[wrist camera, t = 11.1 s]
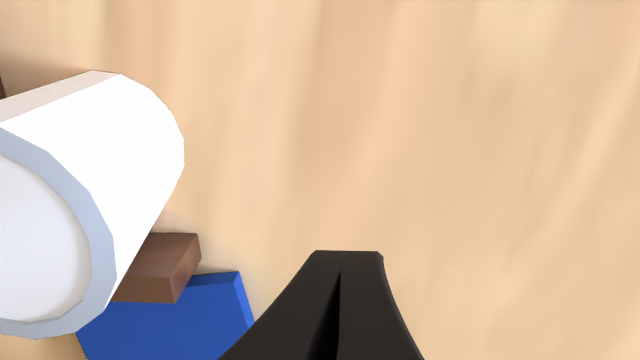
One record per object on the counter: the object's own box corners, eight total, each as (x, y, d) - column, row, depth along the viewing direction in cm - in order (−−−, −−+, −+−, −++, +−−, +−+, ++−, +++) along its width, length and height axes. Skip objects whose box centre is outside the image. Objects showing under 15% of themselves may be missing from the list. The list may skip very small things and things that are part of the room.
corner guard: (154, -14, 18) (111, -1, 15) (202, 258, 23) (175, 304, 20) (-56, -3, 19) (-130, 11, 17) (30, 254, 24) (-17, 297, 21)
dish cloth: (239, 270, 23) (233, 282, 22) (275, 389, 25) (272, 403, 25) (67, 287, 24) (57, 298, 24) (119, 397, 27) (111, 410, 26)
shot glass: (100, 245, 23) (-10, 369, 17) (-11, 104, 21) (-185, 187, 15) (235, 182, 21) (166, 297, 15) (128, 17, 19) (-8, 71, 12)
